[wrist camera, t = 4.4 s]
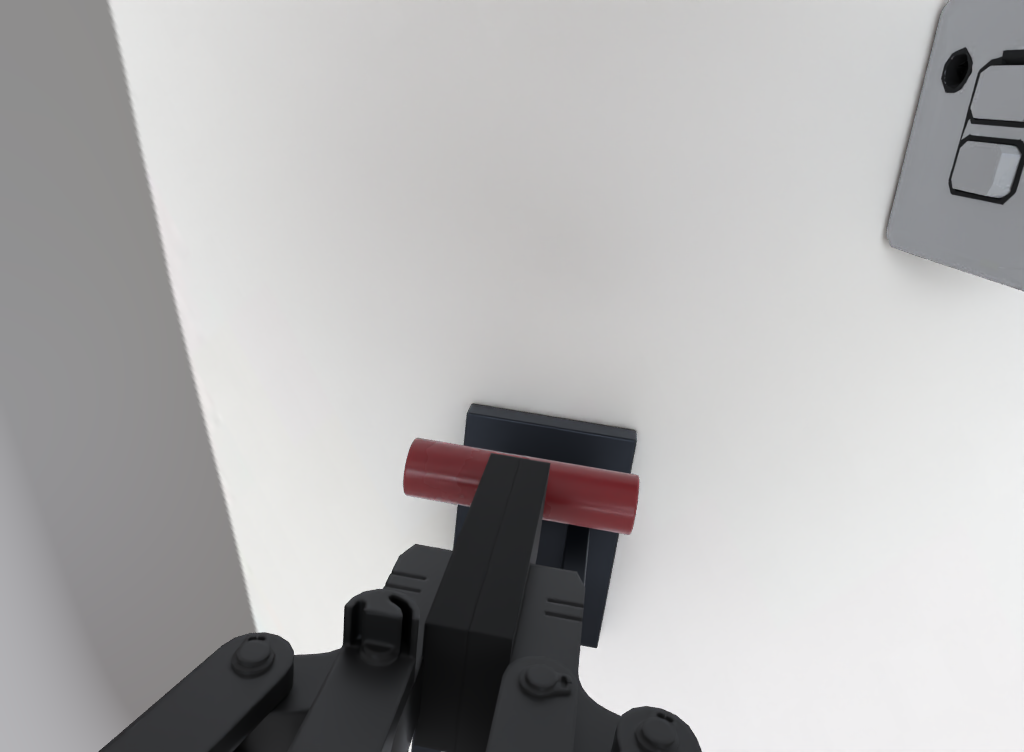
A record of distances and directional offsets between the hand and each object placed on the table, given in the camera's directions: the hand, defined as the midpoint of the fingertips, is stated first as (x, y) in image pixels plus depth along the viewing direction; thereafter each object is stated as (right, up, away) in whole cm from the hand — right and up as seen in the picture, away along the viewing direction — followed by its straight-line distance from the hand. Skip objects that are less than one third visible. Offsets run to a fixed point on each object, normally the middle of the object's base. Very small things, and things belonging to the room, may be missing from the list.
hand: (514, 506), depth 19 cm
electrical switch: (+18, +13, +10) cm, 25 cm away
